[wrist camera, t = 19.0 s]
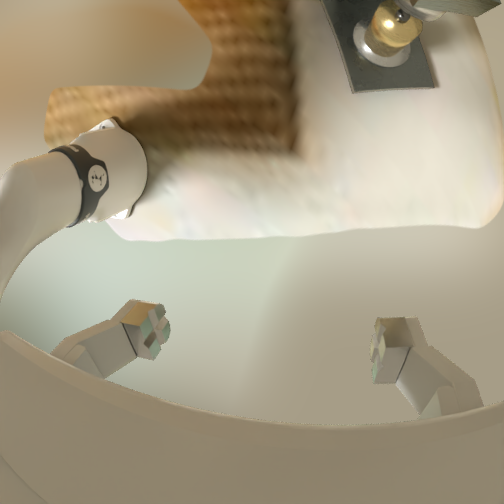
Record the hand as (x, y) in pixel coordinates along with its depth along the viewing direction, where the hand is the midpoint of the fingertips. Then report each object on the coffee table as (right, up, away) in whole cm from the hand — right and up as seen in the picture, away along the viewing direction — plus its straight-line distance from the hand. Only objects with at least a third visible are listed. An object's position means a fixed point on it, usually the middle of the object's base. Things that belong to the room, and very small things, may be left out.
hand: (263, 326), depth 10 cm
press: (+20, +33, +14) cm, 41 cm away
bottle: (+16, +30, +14) cm, 37 cm away
